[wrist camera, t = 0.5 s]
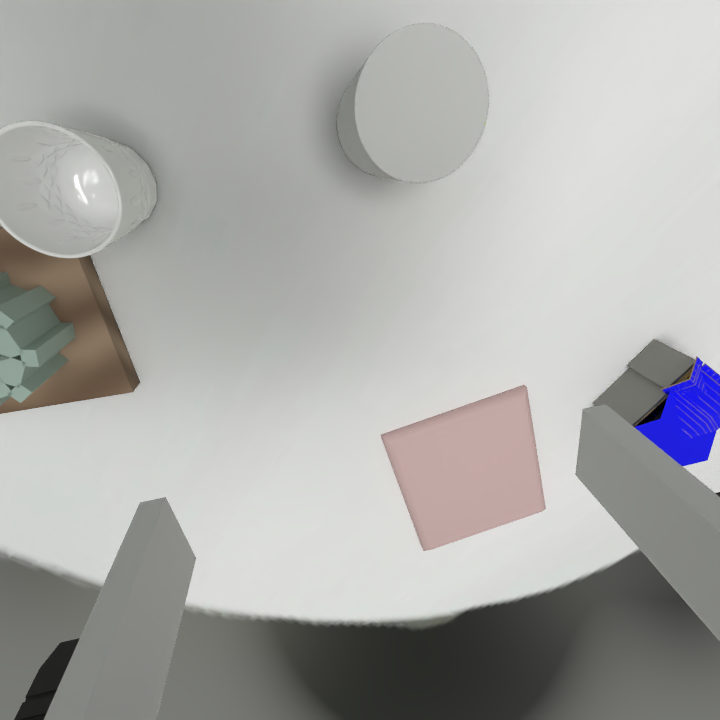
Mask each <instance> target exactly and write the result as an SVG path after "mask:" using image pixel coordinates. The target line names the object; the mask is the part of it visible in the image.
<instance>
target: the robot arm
mask: <svg viewBox="0 0 720 720" xmlns="http://www.w3.org/2000/svg"><path fill="white" fill-rule="evenodd" d="M576 476H577V477H578V478H579V479H580V480H581V482H582V483H583V484H584V485H585V486H586V487H587V489H588V490H589V491H590V492H591V493H592V494H593V495H594V497H595V498H596V499H597V500H598V501H599V502H600V504H601V505H602V506H603V507H604V508H605V509H606V510H607V512H608V513H609V514H610V515H611V516H612V517H613V519H614V520H615V521H616V522H617V523H618V524H619V525H620V527H621V528H622V529H623V530H624V531H625V532H626V534H627V535H628V536H629V537H630V538H631V539H632V541H633V542H634V543H635V544H636V545H637V546H638V547H639V549H640V550H641V551H642V552H643V553H644V554H645V555H646V556H647V558H648V559H649V560H650V561H651V562H652V564H653V565H654V566H655V567H656V568H657V569H658V570H659V572H660V573H661V574H662V575H663V576H664V577H665V579H666V580H667V581H668V582H669V583H670V584H671V585H672V587H673V588H674V589H675V590H676V591H677V592H678V593H679V595H680V596H681V597H682V598H683V599H684V601H685V602H686V603H687V604H688V605H689V606H690V608H691V609H692V610H693V611H694V612H695V613H696V614H697V616H698V617H699V618H700V619H701V620H702V621H703V622H704V624H705V625H706V626H707V627H708V628H709V629H710V631H711V632H712V633H713V634H714V635H715V636H716V638H717V639H718V640H719V641H720V492H718V493H714V492H713V491H712V490H711V489H709V488H708V487H707V486H706V485H704V484H703V483H702V482H701V481H699V480H698V479H697V478H696V477H695V476H693V475H692V474H691V473H690V472H688V471H687V470H686V469H685V468H684V467H682V466H681V465H680V464H679V463H677V462H676V461H675V460H674V459H673V458H671V457H670V456H669V455H668V454H666V453H665V452H664V451H663V450H661V449H660V448H659V447H658V446H657V445H655V444H654V443H653V442H652V441H650V440H649V439H648V438H647V437H646V436H644V435H643V434H642V433H641V432H639V431H638V430H637V429H636V428H634V427H633V426H632V425H631V424H630V423H628V422H627V421H626V420H625V419H623V418H622V417H621V416H620V415H619V414H617V413H616V412H615V411H614V410H612V409H611V408H610V407H609V406H608V405H606V404H604V405H599V406H595V407H590V408H585V409H583V412H582V421H581V430H580V439H579V448H578V457H577V466H576ZM195 560H196V557H195V555H194V553H193V551H192V549H191V547H190V545H189V543H188V541H187V539H186V537H185V535H184V533H183V531H182V529H181V527H180V525H179V523H178V521H177V519H176V517H175V515H174V513H173V511H172V509H171V507H170V505H169V503H168V501H167V499H166V497H165V498H160V499H155V500H150V501H146V502H141V503H140V504H139V506H138V508H137V511H136V513H135V515H134V517H133V520H132V522H131V524H130V526H129V529H128V531H127V533H126V535H125V538H124V540H123V542H122V544H121V547H120V549H119V551H118V553H117V556H116V558H115V560H114V562H113V565H112V567H111V569H110V571H109V574H108V576H107V578H106V580H105V583H104V585H103V587H102V590H101V592H100V595H99V596H98V599H97V601H96V603H95V605H94V608H93V610H92V612H91V615H90V617H89V619H88V621H87V624H86V626H85V628H84V630H83V632H82V635H81V637H80V638H79V639H75V640H70V641H66V642H62V643H60V644H59V645H58V646H57V648H56V649H55V650H54V651H53V653H52V654H51V655H50V657H49V658H48V659H47V660H46V661H45V663H44V664H43V665H42V666H41V668H40V669H39V671H38V673H37V675H36V677H35V679H34V681H33V683H32V685H31V687H30V689H29V691H28V693H27V695H26V701H25V702H23V703H22V705H21V707H20V709H19V711H18V713H17V715H16V717H15V719H14V720H156V718H157V715H158V711H159V707H160V703H161V698H162V694H163V690H164V686H165V682H166V678H167V674H168V670H169V666H170V661H171V658H172V654H173V650H174V646H175V642H176V637H177V633H178V629H179V625H180V621H181V617H182V613H183V609H184V605H185V601H186V597H187V593H188V589H189V584H190V580H191V576H192V572H193V568H194V564H195Z"/></svg>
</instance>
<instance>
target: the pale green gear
mask: <svg viewBox="0 0 720 720" xmlns="http://www.w3.org/2000/svg"><path fill="white" fill-rule="evenodd" d="M55 298H56V297H55V296H54V295H53V294H51V293H50V292H49V291H48V290H46V289H45V288H44V287H42V286H41V285H40V286H38V287H36V288H34V289H32V290H30V291H28V290H26V289H23V288H20V287H18V286H15V285H13V284H10V279H9V275H8V272H0V405H2V404H3V403H4V402H5V401H6V400H8V399H9V398H10V397H12V398H14V399H15V400H17V401H18V402H20V403H21V402H23V401H24V400H25V399H26V398H27V397H28V396H29V395H30V394H32V393H33V392H34V391H35V390H36V389H37V388H38V387H40V386H41V385H42V384H43V383H44V382H45V381H46V380H48V379H49V378H50V377H51V376H52V375H53V374H54V373H55V372H57V371H58V370H59V369H60V368H61V367H62V366H63V365H64V364H65V363H66V362H67V361H68V359H67V358H65V357H64V356H63V355H61V354H60V353H59V352H60V350H61V349H62V348H63V347H64V346H66V345H67V344H68V343H69V342H71V341H72V340H73V339H74V338H76V336H75V331H74V326H73V323H69V322H60V320H59V319H58V317H57V316H56V314H55V313H54V311H53V310H52V308H51V307H50V305H49V304H50V303H51V302H52V301H53V300H54V299H55Z"/></svg>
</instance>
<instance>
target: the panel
mask: <svg viewBox="0 0 720 720" xmlns="http://www.w3.org/2000/svg"><path fill="white" fill-rule="evenodd" d="M381 436H382V439H383V442H384V445H385V448H386V450H387V453H388V456H389V458H390V461H391V464H392V467H393V469H394V472H395V475H396V477H397V480H398V483H399V486H400V488H401V491H402V494H403V496H404V499H405V502H406V504H407V507H408V510H409V513H410V515H411V518H412V521H413V523H414V526H415V529H416V532H417V534H418V537H419V540H420V542H421V545H422V548H423V551H425V550H431V549H434V548H437V547H440V546H443V545H446V544H449V543H452V542H454V541H457V540H460V539H463V538H466V537H469V536H472V535H475V534H478V533H481V532H484V531H486V530H489V529H492V528H495V527H498V526H501V525H504V524H507V523H510V522H513V521H515V520H518V519H521V518H524V517H527V516H530V515H533V514H536V513H539V512H542V511H543V510H544V509H546V507H545V501H544V494H543V488H542V481H541V475H540V469H539V462H538V456H537V449H536V443H535V437H534V430H533V424H532V418H531V411H530V405H529V398H528V392H527V387H526V386H525V385H522V386H520V387H517V388H514V389H511V390H508V391H505V392H502V393H499V394H497V395H494V396H491V397H488V398H485V399H482V400H479V401H477V402H474V403H471V404H468V405H465V406H462V407H459V408H457V409H454V410H451V411H448V412H445V413H442V414H439V415H436V416H434V417H431V418H428V419H425V420H422V421H419V422H416V423H414V424H411V425H408V426H405V427H402V428H399V429H396V430H394V431H391V432H388V433H385V434H382V435H381Z"/></svg>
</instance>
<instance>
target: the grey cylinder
mask: <svg viewBox="0 0 720 720" xmlns="http://www.w3.org/2000/svg"><path fill="white" fill-rule="evenodd" d="M488 107H489V91H488V83H487V78H486V74H485V71H484V68H483V66H482V63H481V61H480V59H479V57H478V55H477V54H476V52H475V51H474V49H473V48H472V47H471V45H470V44H469V43H468V42H467V41H466V40H465V39H464V38H463V37H462V36H460V35H459V34H458V33H456V32H455V31H453V30H451V29H449V28H447V27H444V26H441V25H437V24H431V23H419V24H413V25H409V26H406V27H403V28H401V29H399V30H397V31H395V32H394V33H392V34H390V35H389V36H388V37H386V38H385V39H384V40H383V41H382V42H381V43H380V44H379V45H378V46H377V47H376V48H375V49H374V51H373V52H372V53H371V55H370V56H369V58H368V59H367V60H366V62H365V63H364V65H363V66H362V68H361V69H360V70H359V72H358V73H357V75H356V76H355V78H354V79H353V80H352V82H351V83H350V85H349V86H348V88H347V89H346V91H345V92H344V94H343V96H342V99H341V101H340V104H339V108H338V113H337V131H338V137H339V140H340V144H341V146H342V148H343V150H344V152H345V154H346V156H347V157H348V158H349V160H350V161H351V162H352V163H353V164H354V165H355V166H356V167H358V168H359V169H360V170H362V171H364V172H366V173H368V174H371V175H374V176H379V177H384V178H389V179H394V180H400V181H405V182H410V183H427V182H432V181H435V180H438V179H441V178H443V177H445V176H447V175H449V174H451V173H452V172H454V171H455V170H456V169H458V168H459V167H460V166H461V165H462V164H463V163H464V162H465V161H466V160H467V159H468V158H469V156H470V155H471V154H472V152H473V151H474V149H475V148H476V146H477V144H478V142H479V140H480V138H481V136H482V133H483V131H484V128H485V124H486V120H487V115H488Z"/></svg>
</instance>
